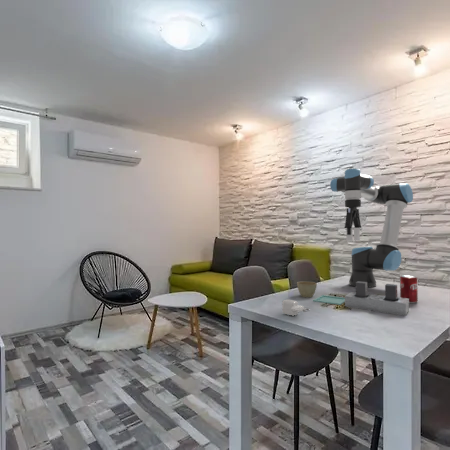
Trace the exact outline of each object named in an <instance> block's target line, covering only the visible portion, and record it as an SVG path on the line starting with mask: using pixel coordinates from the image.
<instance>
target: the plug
mask: <svg viewBox="0 0 450 450" xmlns="http://www.w3.org/2000/svg"><path fill="white" fill-rule="evenodd" d="M355 293H356V296H358V297H366V298H367V297H368V296H367V294H368V287H367V282H361V281H358V282H356V286H355Z"/></svg>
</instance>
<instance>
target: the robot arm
mask: <svg viewBox="0 0 450 450" xmlns="http://www.w3.org/2000/svg"><path fill="white" fill-rule="evenodd" d="M374 183H375V181H374V178H373V177H372V176H371V175H368V174H362V173H361V169H360V168H348V169H346V170H345V171H344V177H336V178H333V179H331V181H330V185H329V186H330V190H331V191H332V192H335V193H336V192H337V193H338V192H342V193H343V196H344V199H345V200H344V207H345V208H346V215H345V223H344V224H345V225H344V229H346V242H349V243H350V242H353V241H361V240H360V239H361V238H360V237H361V235H360V234H361V233H360V231H361V229H360V228H362V225H361V218H360V209H359V208H360V207H361V206H362V205H361V204H362V202H361V201H362V200H361V198H364V200H365V201H367V202H371V203H375V204H380V205H381V204H382V205H385V206H386V213H385V217H384V222H383V227H382V231H381V236H380V241H379V243H378V244H376V245H375V246H376V247H375V248H373V246H363V247H354V248H352V250H351V274H350V277H349V279H348V280H349V281H348V285H349V286H352V287H356V282H358V281H361V282H367V288H375V287H377V281H376V278H375V275H374V270H377V271H379V270H380V271H386V272H388V271H389V272H392V271H393V272H394V271H397V269H398V268H400V266H401V263H402V260H403V259H402V252H401V251H400V249H399V248H398V246H397V245H398V239H399V234H400V229H401V224H402V218H403V215H404V214H403V213H404V209H406V208H407V207H408V204H410V203H412V201H413V200H414V195H413V194H414V193H413V192H414V191H413V189H412V186H411V185H410V184H409V183H404V182H403V183H401V182H399V183H394V184H383V185H376V186H374ZM353 226H354V227H353Z"/></svg>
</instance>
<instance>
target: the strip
mask: <svg viewBox="0 0 450 450" xmlns="http://www.w3.org/2000/svg"><path fill="white" fill-rule="evenodd" d="M367 296H368V297H367V298H366V297H358V296H356V291H354V292H353V291H350V292H348V293H347V294H346V295H344V298H345V302H344V307H345V308H347V307H348V308H352V309H353V308H354V309H361V310H367V311H371V312H375V313H382V314H391V315H397V316H398V315H399V316H403V317H404V316H405V317H406V316H407V315H408V312H409V311H410V303H409V299H408V298H400V296H399V297H398V285H397V284H393V283H390V284H389V283H386V284H385V285H384V295H379V294H372V293H371V294H370V293H367Z"/></svg>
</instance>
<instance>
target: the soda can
mask: <svg viewBox="0 0 450 450" xmlns="http://www.w3.org/2000/svg"><path fill="white" fill-rule="evenodd" d="M418 279H419V278H418V277H417V276H415V275H411V274H409V275H408V274H406V275H400V277H399V294H400V296H399V298H408V299H409V304H417V303H418V300H419V293H418V291H419V290H418V288H419V287H418V286H419V285H418V282H419V281H418Z"/></svg>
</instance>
